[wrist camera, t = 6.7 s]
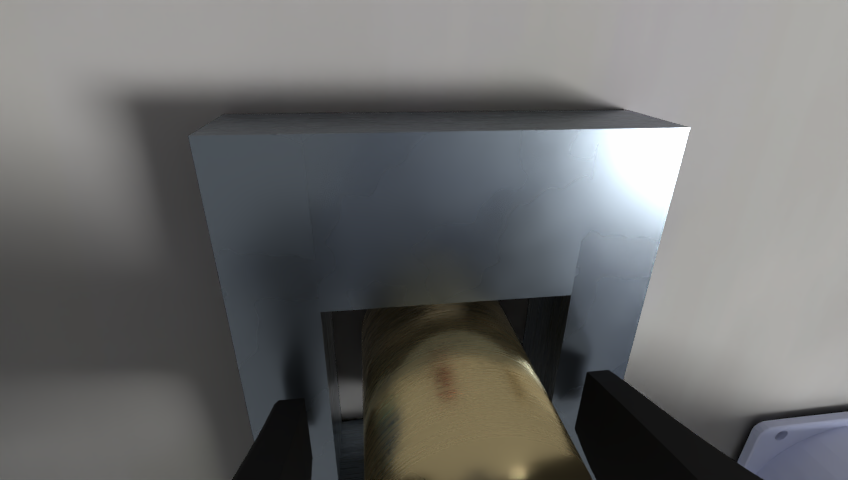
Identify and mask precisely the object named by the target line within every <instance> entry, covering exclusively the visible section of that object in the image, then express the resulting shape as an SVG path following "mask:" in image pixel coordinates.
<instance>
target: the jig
mask: <svg viewBox="0 0 848 480" xmlns="http://www.w3.org/2000/svg"><path fill="white" fill-rule="evenodd" d="M689 130H690V127H686V126H683V125H679V124H676V123H672V122H669V121H665V120H661V119H658V118H654V117H651V116H647V115H644V114H640V113H637V112H633V111H629V110H569V111H474V112H379V113H284V114H223V115H222V116H220V117H218V118H217V119H215V120H213V121H212V122H210V123H209V124H207V125H205V126H204V127H202V128H200V129H199V130H197V131H195V132H194V133H192V134H190V135H189V136H188V138H189V142H190V147H191V152H192V156H193V161H194V165H195V170H196V175H197V179H198V184H199V189H200V193H201V198H202V202H203V207H204V212H205V216H206V221H207V226H208V230H209V235H210V239H211V244H212V249H213V253H214V258H215V263H216V267H217V272H218V277H219V281H220V286H221V290H222V295H223V300H224V304H225V309H226V314H227V318H228V323H229V327H230V332H231V337H232V341H233V346H234V351H235V355H236V360H237V365H238V369H239V374H240V378H241V383H242V388H243V392H244V397H245V402H246V406H247V411H248V415H249V420H250V425H251V429H252V434H253V439H254V442H255V440H256V438H257V437H258V435H259V433H260V431H261V429H262V427H263V425H264V424H265V422H266V420H267V418H268V416H269V414H270V412H271V410H272V408H273V405H274V404H275V403H276V402H277V401H278V400H288V399H298V398H304V399H305V406H306V413H307V421H308V428H309V435H310V442H311V449H312V456H313V460H312V478H311V480H364V432H363V419H361V420H351V421H342V420H341V409H340V399H339V388H338V377H337V367H336V356H335V345H334V335H333V324H332V313H331V311H345V310H360V309H374V308H389V307H404V306H418V305H433V304H448V303H462V302H477V301H492V300H506V299H521V298H529V302H528V310H527V317H526V325H525V332H524V340H523V349H524V351H525V353H526V355H527V357H528V359H529V360H530V362H531V364H532V366H533V368H534V370H535V372H536V374H537V376H538V377H539V379H540V381H541V383H542V385H543V387H544V389H545V391H546V392H547V394H548V396H549V398H550V400H551V402H552V404H553V406H554V408H555V409H556V411H557V413H558V415H559V417H560V419H561V421H562V423H563V424H564V426H565V428H566V430H567V432H568V434H569V436H570V438H571V440H572V441H573V443H574V445H575V447H576V449H577V451H578V453H579V455H580V456H581V458H582V460H583V462H584V464H585V466H586V468H587V470H588V472H589V474H590V476H591V478H592V480H596V478H595V476H594V474H593V472H592V470H591V468H590V466H589V464H588V461H587V459H586V457H585V454H584V452H583V450H582V447H581V444H580V442H579V439H578V437H577V434H576V431H575V429H574V428H575V424H576V419H577V414H578V410H579V405H580V401H581V396H582V392H583V387H584V382H585V378H586V373H587V372H590V371H601V370H610V371H611V372H613V373H614V374H615V375H617V376H618V377H620V378H621V379H622V380H623V379H624V375H625V371H626V367H627V364H628V360H629V356H630V352H631V348H632V345H633V341H634V337H635V333H636V330H637V326H638V322H639V318H640V315H641V311H642V307H643V303H644V299H645V296H646V292H647V288H648V284H649V281H650V277H651V273H652V269H653V266H654V262H655V258H656V254H657V251H658V247H659V243H660V239H661V235H662V232H663V228H664V224H665V220H666V217H667V213H668V209H669V205H670V202H671V198H672V194H673V190H674V187H675V183H676V179H677V175H678V171H679V168H680V164H681V160H682V156H683V153H684V149H685V145H686V141H687V138H688V134H689Z"/></svg>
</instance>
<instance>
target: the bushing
mask: <svg viewBox="0 0 848 480" xmlns="http://www.w3.org/2000/svg"><path fill="white" fill-rule="evenodd" d="M362 378H363V432H364V480H592V478H591V476H590V474H589V472H588V470H587V468H586V466H585V464H584V462H583V460H582V458H581V456H580V455H579V453H578V451H577V449H576V447H575V445H574V443H573V441H572V440H571V438H570V436H569V434H568V432H567V430H566V428H565V426H564V424H563V423H562V421H561V419H560V417H559V415H558V413H557V411H556V409H555V408H554V406H553V404H552V402H551V400H550V398H549V396H548V394H547V392H546V391H545V389H544V387H543V385H542V383H541V381H540V379H539V377H538V376H537V374H536V372H535V370H534V368H533V366H532V364H531V362H530V360H529V359H528V357H527V355H526V353H525V351H524V349H523V347H522V345H521V343H520V342H519V340H518V338H517V336H516V334H515V332H514V330H513V328H512V327H511V325H510V323H509V321H508V319H507V317H506V315H505V313H504V311H503V310H502V308H501V306H500V304H499V302H498V300H492V301H477V302H462V303H448V304H433V305H418V306H404V307H389V308H374V309H367V311H366V314H365V317H364V320H363V324H362Z"/></svg>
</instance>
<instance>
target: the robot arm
mask: <svg viewBox="0 0 848 480" xmlns="http://www.w3.org/2000/svg"><path fill="white" fill-rule="evenodd" d="M574 429H575V431H576V434H577V437H578V439H579V442H580V444H581V447H582V450H583V452H584V454H585V457H586V459H587V461H588V464H589V466H590V468H591V470H592V472H593V474H594V476H595V478H596V480H848V411H846V412H837V413H829V414H820V415H811V416H802V417H794V418H785V419H776V420H767V421H762V422H760V423H758V424H757V425H755V426H754V427H753V429H752V430H751V433H750V435H749V437H748V439H747V441H746V444H745V446H744V448H743V450H742V452H741V455H740V457H739V459H738V461H737V462H735V461H734V460H732V459H731V458H729V457H728V456H726V455H725V454H723V453H722V452H720V451H719V450H717V449H716V448H715V447H713V446H712V445H710V444H709V443H707V442H706V441H704V440H703V439H702V438H700V437H699V436H697V435H696V434H695V433H693V432H692V431H690V430H689V429H688V428H686V427H685V426H683V425H682V424H681V423H679V422H678V421H677V420H675V419H674V418H673V417H671V416H670V415H669V414H667V413H666V412H665V411H663V410H662V409H661V408H659V407H658V406H657V405H655V404H654V403H653V402H651V401H650V400H649V399H647V398H646V397H645V396H643V395H642V394H641V393H639V392H638V391H637V390H636V389H634V388H633V387H632V386H630V385H629V384H628V383H626V382H625V381H624V380H622V379H621V378H620V377H618V376H617V375H615V374H614V373H613V372H611V371H610V370H601V371H590V372H587V373H586V378H585V382H584V387H583V392H582V396H581V401H580V405H579V410H578V414H577V419H576V424H575V428H574ZM312 460H313V456H312V449H311V442H310V435H309V428H308V421H307V413H306V406H305V399H304V398H298V399H288V400H278V401H277V402H276V403H275V404H274V405H273V408H272V410H271V412H270V414H269V416H268V418H267V420H266V422H265V424H264V425H263V427H262V429H261V431H260V433H259V435H258V437H257V438H256V440H255V442H254V444H253V445H252V447H251V449H250V451H249V452H248V454H247V456H246V457H245V459H244V461H243V462H242V464H241V466H240V467H239V469H238V471H237V472H236V474H235V475H234V477H233V479H232V480H311V478H312Z"/></svg>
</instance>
